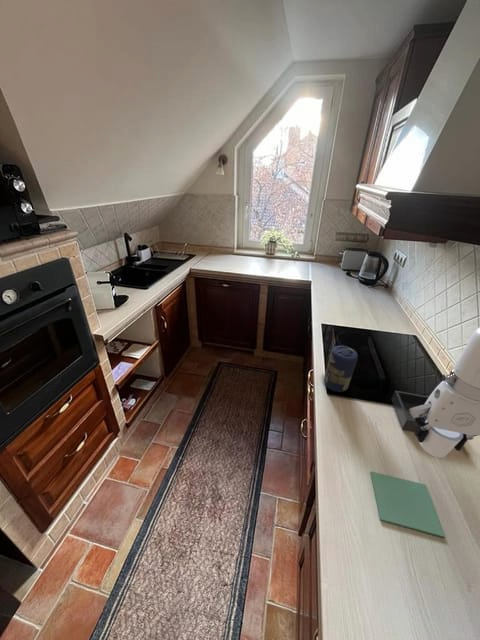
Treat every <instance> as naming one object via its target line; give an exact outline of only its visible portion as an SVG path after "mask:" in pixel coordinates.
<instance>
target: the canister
mask: <svg viewBox="0 0 480 640" xmlns="http://www.w3.org/2000/svg"><path fill="white" fill-rule="evenodd" d="M358 358H359V356H358V352H357V351H356V350H355V349H353V348H351V347H349V346H347V345H335V346H334V347H333V348H332V349H331V351H330V355H329V357H328V361H327V366H326V369H325V373H324V378H323V383H324V385H325V386H326V387H327V388H328V389H329V390H330V391H332V392H335V393H344V392H346V391H347V390H348V389H349V387H350V383H351V380H352V378H353V374H354V371H355V368H356V366H357V363H358Z"/></svg>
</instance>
